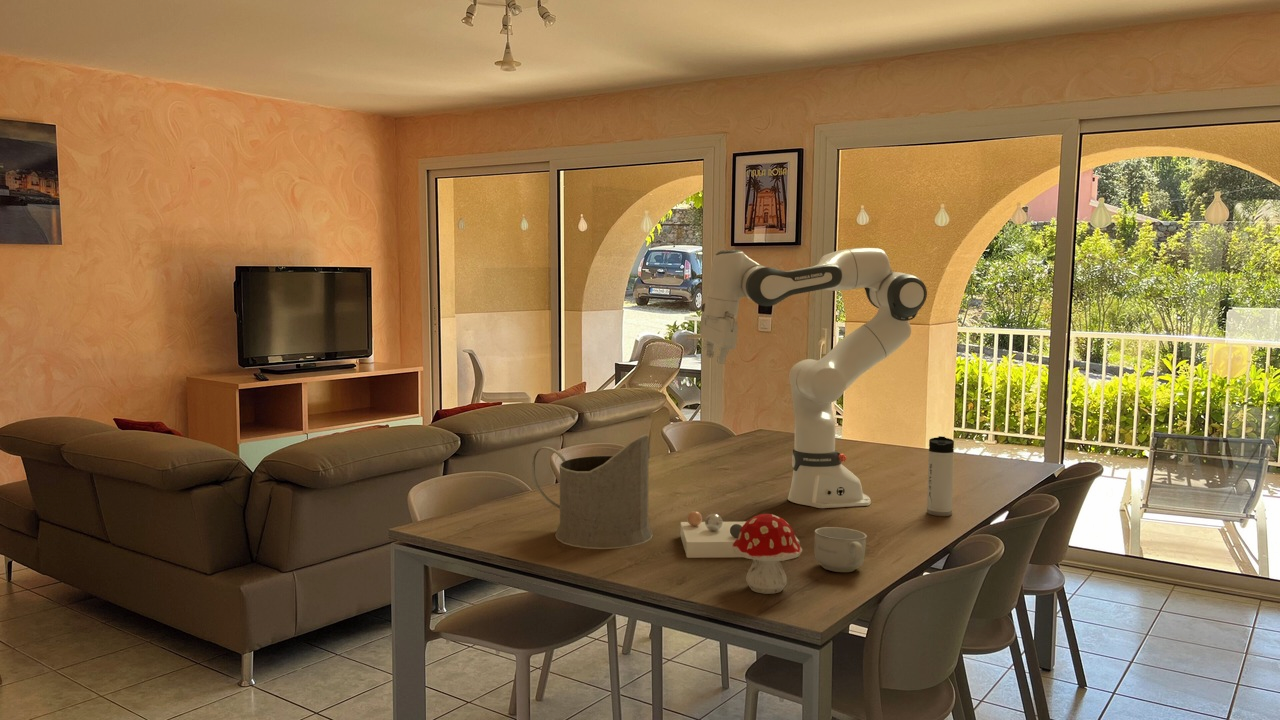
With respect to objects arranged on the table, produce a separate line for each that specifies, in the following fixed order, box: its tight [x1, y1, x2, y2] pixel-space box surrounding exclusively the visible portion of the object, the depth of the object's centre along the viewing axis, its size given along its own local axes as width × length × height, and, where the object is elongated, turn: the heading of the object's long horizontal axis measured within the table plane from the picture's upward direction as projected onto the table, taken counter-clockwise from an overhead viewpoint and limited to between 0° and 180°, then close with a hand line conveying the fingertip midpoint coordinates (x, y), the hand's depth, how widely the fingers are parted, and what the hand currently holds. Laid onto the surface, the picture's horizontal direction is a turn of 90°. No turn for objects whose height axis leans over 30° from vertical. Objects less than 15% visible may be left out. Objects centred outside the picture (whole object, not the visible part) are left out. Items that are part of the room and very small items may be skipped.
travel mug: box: [926, 435, 955, 517], centre depth 241 cm, size 6×7×20 cm
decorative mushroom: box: [732, 513, 803, 595], centre depth 182 cm, size 14×14×15 cm
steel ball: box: [704, 513, 724, 531], centre depth 212 cm, size 4×4×4 cm
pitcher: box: [531, 434, 654, 550], centre depth 222 cm, size 23×32×25 cm
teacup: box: [813, 526, 868, 573], centre depth 194 cm, size 14×11×8 cm
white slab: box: [680, 521, 800, 559], centre depth 212 cm, size 25×17×4 cm
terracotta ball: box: [686, 510, 703, 526], centre depth 216 cm, size 4×4×4 cm
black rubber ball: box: [730, 524, 742, 538], centre depth 206 cm, size 3×3×3 cm
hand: (714, 360), depth 248 cm, fingers open, 8 cm apart
